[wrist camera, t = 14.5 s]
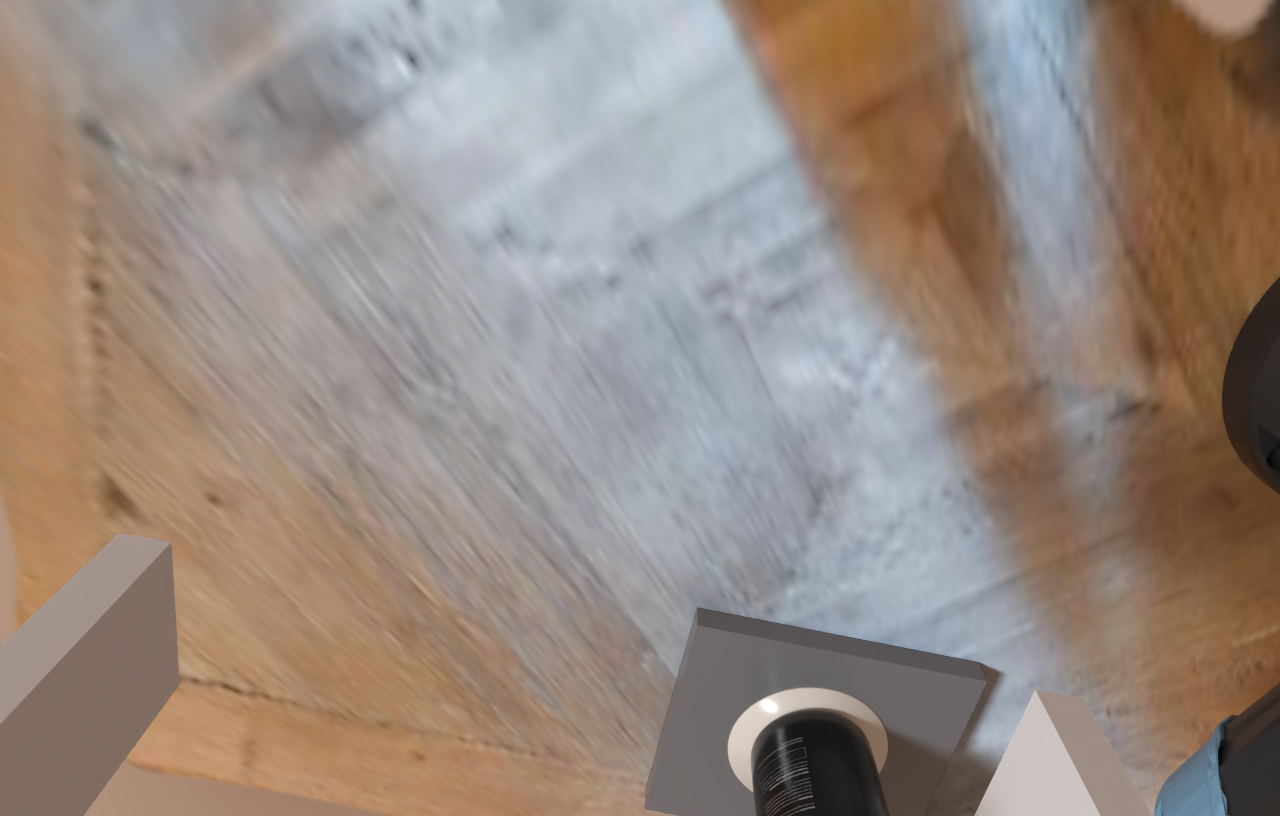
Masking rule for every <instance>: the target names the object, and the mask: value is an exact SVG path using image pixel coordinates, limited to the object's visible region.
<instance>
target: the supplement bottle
mask: <svg viewBox="0 0 1280 816" xmlns="http://www.w3.org/2000/svg"><path fill="white" fill-rule="evenodd" d="M751 773H752V784H753V793H754V803H755V812H756V816H890V814H889V811H888V807H887V803H886V799H885V796H884V792H883V788H882V785H881V781H880V777H879V774H878V770H877V766H876V762H875V759H874V756H873V752H872V749H871V746H870V743H869V740H868V739H867V737H866V735H865V734H864V732H863V731H862V730H861V728H860V727H859V726H858V725H857V724H855V723H854V722H853V721H851V720H850V719H848V718H847V717H845V716H843V715H840V714H838V713H835V712H832V711H827V710H821V709H804V710H798V711H793V712H790V713H787V714H784V715H782V716H780V717H778V718H776V719H775V720H773V721H771V722H770V723H769V724H768V725H767V726H766V727H764V728H763V729H762V731H761V732H760V733H759V735H758V736H757V738H756V739H755V741H754V744H753V747H752V750H751Z"/></svg>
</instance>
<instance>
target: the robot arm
mask: <svg viewBox="0 0 1280 816" xmlns="http://www.w3.org/2000/svg"><path fill="white" fill-rule="evenodd" d="M1222 408H1223V417H1224V422H1225V426H1226V430H1227V433H1228V436H1229V439H1230V441H1231V443H1232V446H1233V447H1234V449H1235V451H1236V453H1237V455H1238V456H1239V457H1240V459H1241V460H1242V462H1243V463H1244V464H1245V465H1246V466H1247V467H1248V469H1249V470H1250V471H1251V472H1252V473H1254V474H1255V475H1256V476H1257V477H1258V478H1259V479H1260V480H1262V481H1263V482H1264V483H1265V484H1266V485H1268V486H1269V487H1270V488H1271V489H1273V490H1274V491H1275V492H1276V493H1277V494H1279V495H1280V278H1279V279H1278V280H1277V281H1276V282H1275V283H1274V284H1273V285H1272V286H1271V287H1270V288H1269V290H1268V291H1267V292H1266V293H1265V294H1264V295H1263V297H1262V298H1261V299H1260V301H1259V302H1258V303H1257V305H1256V306H1255V307H1254V309H1253V311H1252V312H1251V314H1250V315H1249V317H1248V318H1247V320H1246V322H1245V323H1244V325H1243V327H1242V329H1241V331H1240V333H1239V335H1238V337H1237V339H1236V341H1235V343H1234V346H1233V348H1232V351H1231V353H1230V357H1229V360H1228V363H1227V367H1226V371H1225V376H1224V382H1223V392H1222ZM179 684H180V683H179V666H178V648H177V631H176V614H175V597H174V579H173V562H172V545H171V542H168V541H162V540H157V539H151V538H145V537H139V536H133V535H127V534H121V533H118V534H117V535H116V536H115V537H114V538H113V539H112V540H111V541H110V542H109V543H108V544H107V545H106V546H105V547H104V548H103V549H102V550H100V551H99V552H98V553H97V554H96V555H95V556H94V557H93V558H92V559H91V560H90V561H89V562H88V563H87V564H86V565H85V566H84V567H83V568H82V569H80V570H79V571H78V572H77V573H76V574H75V575H74V576H73V577H72V578H71V579H70V580H69V581H68V582H67V583H66V584H65V585H64V586H63V587H61V588H60V589H59V590H58V591H57V592H56V593H55V594H54V595H53V596H52V597H51V598H50V599H49V600H48V601H47V602H46V603H45V604H44V605H42V606H41V607H40V608H39V609H38V610H37V611H36V612H35V613H34V614H33V615H32V616H31V617H30V618H29V619H28V620H27V621H26V622H25V623H24V624H22V625H21V626H20V627H19V628H18V629H17V630H16V631H15V632H14V633H13V634H12V635H11V636H10V637H9V638H8V639H7V640H6V641H5V642H3V643H2V644H1V645H0V816H84V814H85V813H86V811H87V810H88V809H89V807H90V806H91V805H92V803H93V802H94V801H95V799H96V798H97V796H98V795H99V794H100V792H101V791H102V790H103V788H104V787H105V786H106V784H107V783H108V781H109V780H110V779H111V777H112V776H113V775H114V773H115V772H116V770H117V769H118V767H119V766H120V765H121V764H122V762H123V761H124V760H125V758H126V757H127V755H128V754H129V753H130V751H131V750H132V749H133V747H134V746H135V745H136V743H137V742H138V740H139V739H140V738H141V736H142V735H143V734H144V732H145V731H146V729H147V728H148V727H149V725H150V724H151V723H152V721H153V720H154V719H155V717H156V716H157V714H158V713H159V712H160V710H161V709H162V708H163V706H164V705H165V704H166V702H167V701H168V699H169V698H170V697H171V695H172V694H173V693H174V691H175V690H176V689H177V687H178V686H179ZM974 816H1152V815H1151V813H1150V811H1149V810H1148V808H1147V806H1146V804H1145V803H1144V801H1143V799H1142V798H1141V796H1140V794H1139V792H1138V791H1137V789H1136V787H1135V785H1134V784H1133V782H1132V780H1131V779H1130V777H1129V775H1128V773H1127V772H1126V770H1125V768H1124V767H1123V765H1122V763H1121V761H1120V760H1119V758H1118V756H1117V754H1116V753H1115V751H1114V749H1113V748H1112V746H1111V744H1110V742H1109V741H1108V739H1107V737H1106V735H1105V734H1104V732H1103V730H1102V729H1101V727H1100V725H1099V723H1098V722H1097V720H1096V718H1095V717H1094V715H1093V713H1092V711H1091V710H1090V708H1089V706H1088V704H1087V703H1086V701H1085V699H1084V698H1080V697H1075V696H1069V695H1063V694H1057V693H1051V692H1045V691H1040V690H1035V692H1034V694H1033V696H1032V698H1031V700H1030V702H1029V704H1028V706H1027V708H1026V710H1025V712H1024V714H1023V716H1022V718H1021V720H1020V722H1019V725H1018V727H1017V729H1016V731H1015V733H1014V735H1013V737H1012V739H1011V741H1010V743H1009V745H1008V747H1007V749H1006V751H1005V753H1004V755H1003V758H1002V760H1001V762H1000V764H999V766H998V768H997V770H996V772H995V774H994V776H993V778H992V780H991V782H990V784H989V786H988V789H987V791H986V793H985V795H984V797H983V799H982V801H981V803H980V805H979V807H978V809H977V811H976V813H975V815H974ZM1154 816H1280V683H1279V684H1277V685H1276V686H1275V687H1274V688H1272V689H1271V690H1270V691H1269V692H1267V693H1266V694H1265V695H1264V696H1262V697H1261V698H1260V699H1259V700H1257V701H1256V702H1255V703H1254V704H1252V705H1251V706H1250V707H1249V708H1247V709H1246V710H1245V711H1244V712H1242V713H1241V714H1240V715H1239V716H1237V715H1231V716H1229V717H1227V718H1225V719H1224V720H1222V721H1221V722H1220V723H1219V724H1218V725H1217V726H1216V728H1215V729H1214V731H1213V734H1212V736H1211V738H1210V740H1208V741H1207V742H1206V743H1205V744H1204V745H1203V746H1202V747H1201V748H1200V749H1199V750H1198V751H1197V752H1195V753H1194V754H1193V755H1192V756H1191V757H1190V758H1189V759H1188V760H1187V761H1186V762H1185V763H1184V764H1182V765H1181V766H1180V767H1179V768H1178V769H1177V770H1176V771H1175V772H1174V773H1173V774H1172V775H1171V776H1169V777H1168V779H1167V780H1166V782H1165V783H1164V784H1163V786H1162V788H1161V790H1160V792H1159V794H1158V797H1157V800H1156V805H1155V813H1154Z"/></svg>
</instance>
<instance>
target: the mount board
mask: <svg viewBox="0 0 1280 816" xmlns="http://www.w3.org/2000/svg"><path fill="white" fill-rule="evenodd" d="M986 684H987V679H986V677H985V675H984V673H983V671H982V668H981V666H980V664H979V663H978V662H973V661H968V660H962V659H957V658H952V657H947V656H942V655H937V654H932V653H927V652H921V651H916V650H911V649H906V648H901V647H896V646H891V645H885V644H880V643H875V642H870V641H865V640H860V639H855V638H849V637H844V636H839V635H834V634H829V633H824V632H819V631H814V630H808V629H803V628H798V627H793V626H788V625H783V624H778V623H772V622H767V621H762V620H757V619H752V618H747V617H742V616H736V615H731V614H726V613H721V612H716V611H711V610H706V609H700V608H697V610H696V613H695V617H694V620H693V624H692V627H691V631H690V634H689V638H688V641H687V645H686V648H685V652H684V655H683V659H682V662H681V666H680V670H679V673H678V677H677V680H676V684H675V687H674V691H673V694H672V698H671V701H670V705H669V708H668V712H667V715H666V719H665V722H664V726H663V729H662V733H661V736H660V740H659V743H658V747H657V750H656V754H655V757H654V761H653V764H652V768H651V771H650V775H649V779H648V782H647V786H646V791H645V809H647V810H653V811H658V812H663V813H669V814H674V815H680V816H756V812H755V803H754V793H753V784H752V773H751V750H752V747H753V744H754V741H755V739H756V738H757V736H758V735H759V733H760V732H761V731H762V729H763V728H764V727H766V726H767V725H768V724H769V723H770V722H771V721H773V720H775V719H776V718H778V717H780V716H782V715H784V714H787V713H790V712H793V711H798V710H804V709H821V710H827V711H832V712H835V713H838V714H840V715H843V716H845V717H847V718H848V719H850V720H851V721H853V722H854V723H855V724H857V725H858V726H859V727H860V728H861V730H862V731H863V732H864V734H865V735H866V737H867V739H868V740H869V743H870V746H871V749H872V752H873V756H874V759H875V762H876V766H877V770H878V774H879V777H880V781H881V785H882V788H883V792H884V796H885V799H886V803H887V807H888V811H889V814H890V816H923V815H924V813H925V811H926V809H927V807H928V805H929V802H930V800H931V798H932V796H933V794H934V792H935V790H936V788H937V786H938V784H939V782H940V780H941V777H942V775H943V773H944V771H945V769H946V767H947V765H948V763H949V761H950V759H951V757H952V755H953V752H954V750H955V748H956V746H957V744H958V742H959V740H960V738H961V736H962V734H963V732H964V729H965V727H966V725H967V723H968V721H969V719H970V717H971V715H972V713H973V711H974V709H975V707H976V704H977V702H978V700H979V698H980V696H981V694H982V692H983V690H984V688H985V686H986Z"/></svg>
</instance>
